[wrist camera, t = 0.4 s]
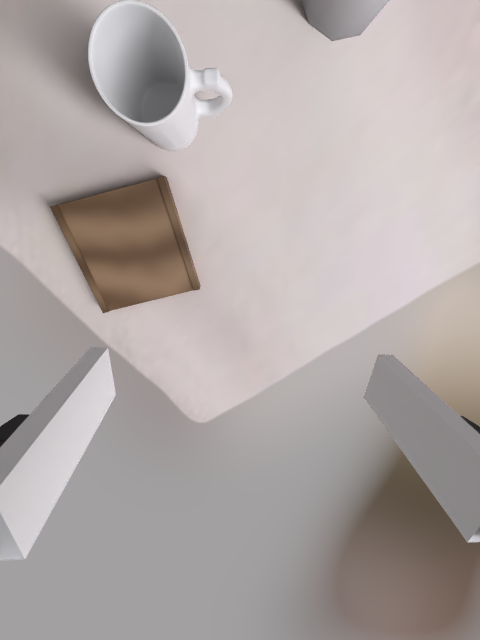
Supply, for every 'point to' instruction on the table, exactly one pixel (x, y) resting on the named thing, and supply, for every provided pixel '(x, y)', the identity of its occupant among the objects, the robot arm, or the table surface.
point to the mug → (151, 75)
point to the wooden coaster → (129, 244)
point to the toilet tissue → (341, 16)
